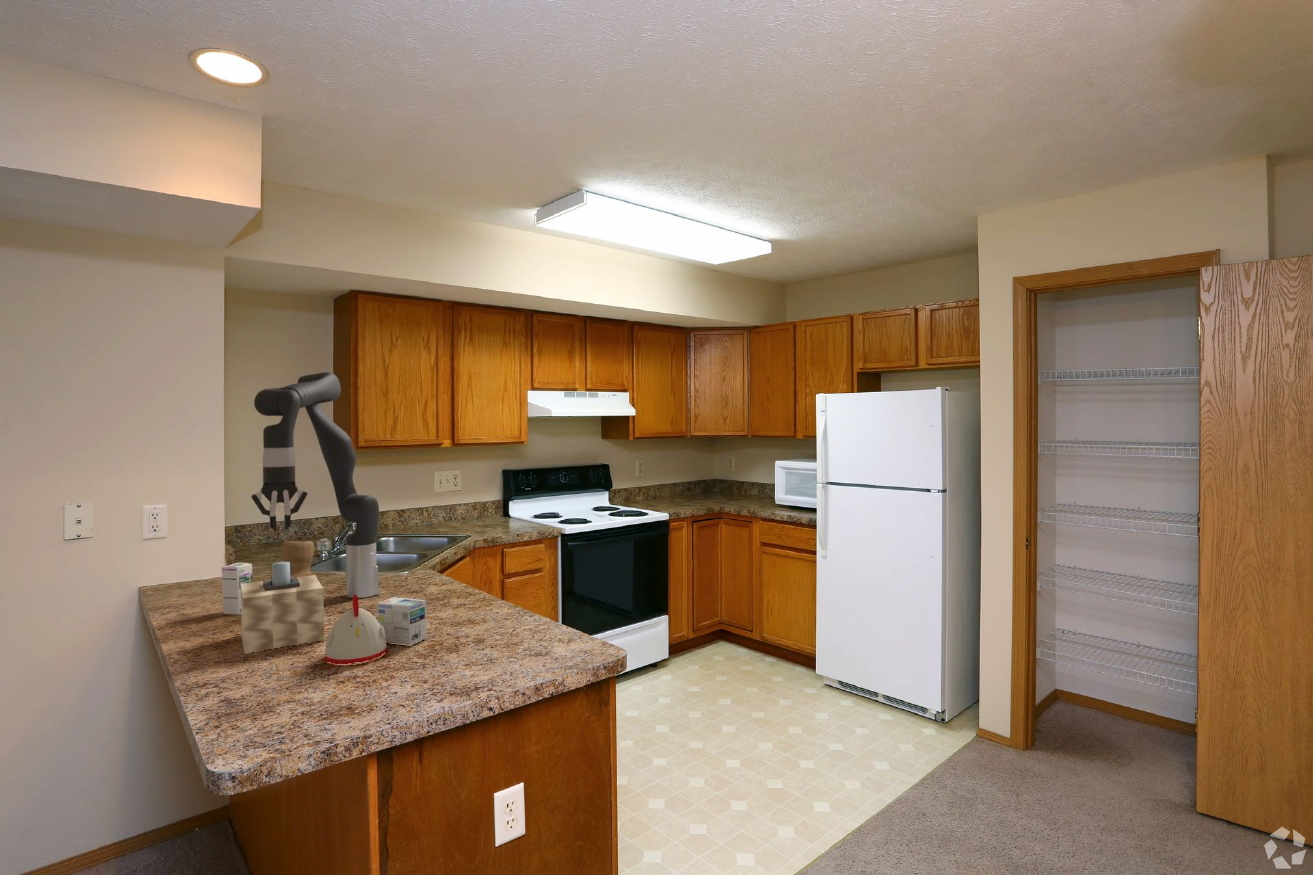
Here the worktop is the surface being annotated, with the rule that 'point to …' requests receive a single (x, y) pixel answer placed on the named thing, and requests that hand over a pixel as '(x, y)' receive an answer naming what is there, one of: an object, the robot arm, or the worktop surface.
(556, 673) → the worktop surface
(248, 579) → the syrup box
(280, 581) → the dowel
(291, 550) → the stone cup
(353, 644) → the kitchen timer
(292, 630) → the birch block
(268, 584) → the rubber collar
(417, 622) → the light bulb box
